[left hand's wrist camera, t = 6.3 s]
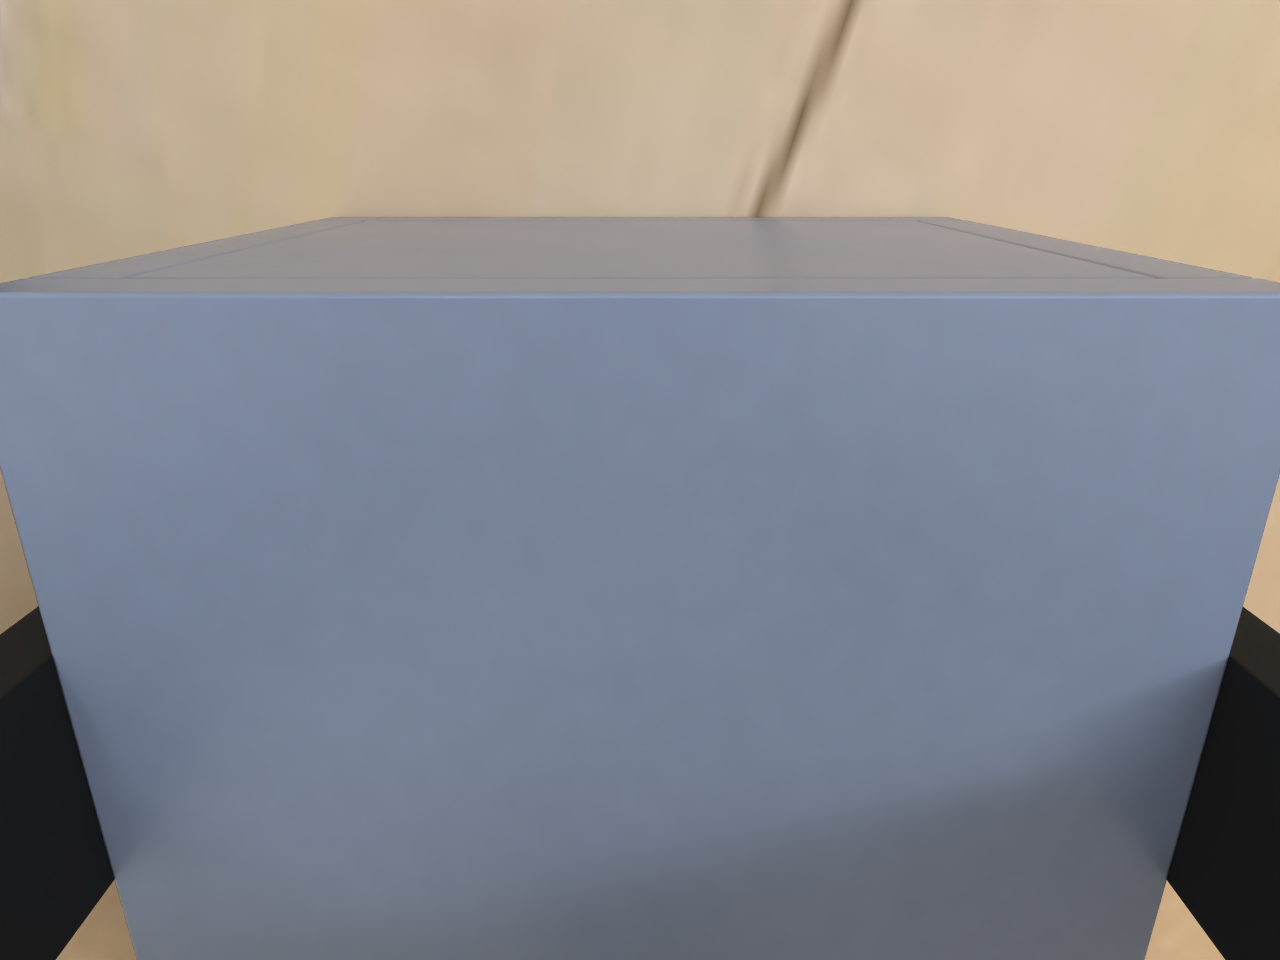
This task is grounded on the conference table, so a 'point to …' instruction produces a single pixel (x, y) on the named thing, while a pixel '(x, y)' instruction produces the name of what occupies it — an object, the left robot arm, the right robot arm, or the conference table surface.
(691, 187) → the conference table surface
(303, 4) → the conference table surface
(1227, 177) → the conference table surface
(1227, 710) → the left robot arm
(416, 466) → the cabinet
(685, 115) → the conference table surface
